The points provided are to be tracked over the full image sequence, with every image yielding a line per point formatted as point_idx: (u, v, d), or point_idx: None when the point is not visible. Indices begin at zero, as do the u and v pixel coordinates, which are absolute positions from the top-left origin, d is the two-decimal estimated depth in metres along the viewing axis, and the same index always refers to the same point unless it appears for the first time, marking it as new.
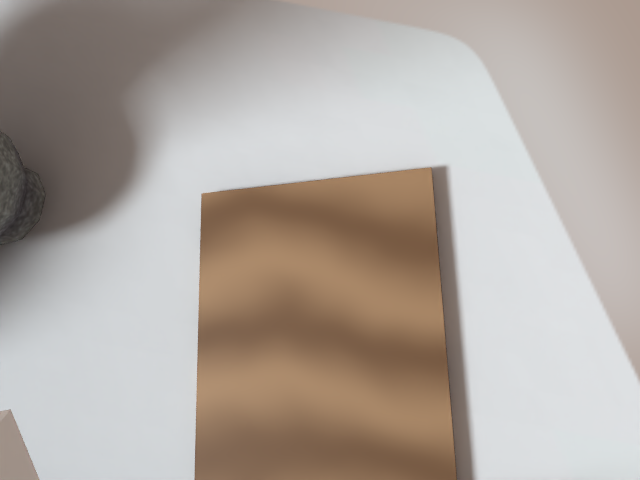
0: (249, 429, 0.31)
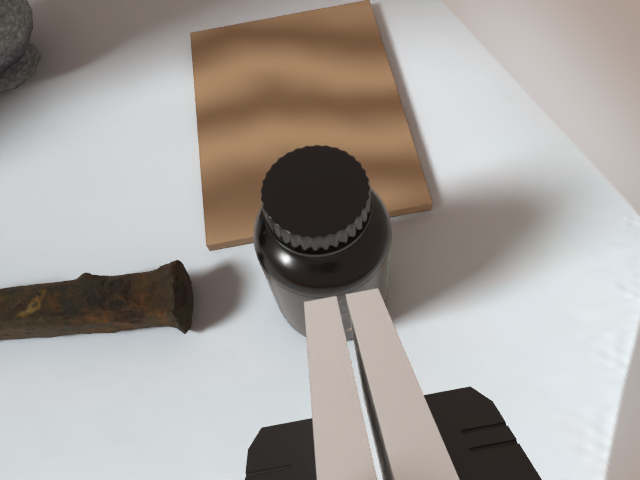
0: (249, 171, 0.37)
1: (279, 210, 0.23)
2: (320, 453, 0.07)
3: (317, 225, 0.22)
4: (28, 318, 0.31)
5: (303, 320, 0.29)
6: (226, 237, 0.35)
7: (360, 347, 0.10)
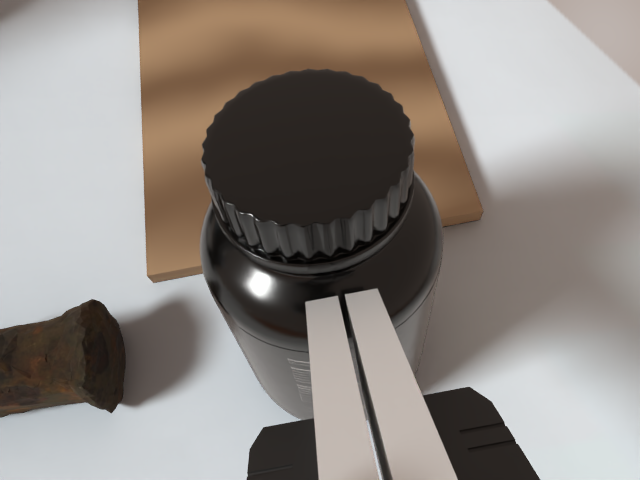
0: None
1: (236, 177, 0.11)
2: (321, 453, 0.07)
3: (311, 202, 0.11)
4: None
5: (290, 393, 0.17)
6: (177, 263, 0.24)
7: (359, 347, 0.10)
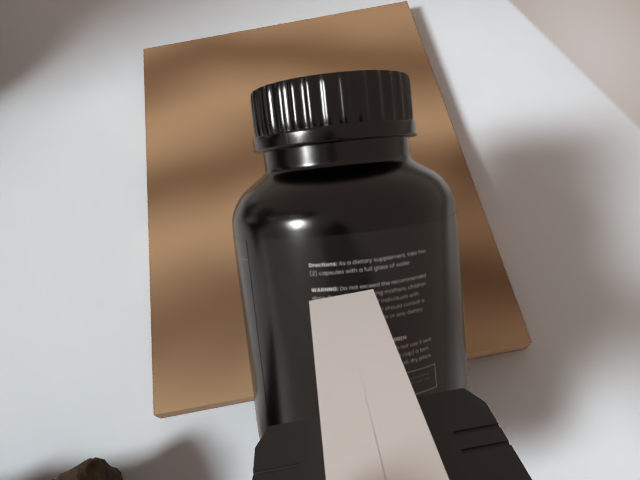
0: (228, 278, 0.23)
1: None
2: (328, 452, 0.07)
3: None
4: None
5: (309, 388, 0.14)
6: (187, 400, 0.21)
7: (354, 348, 0.10)
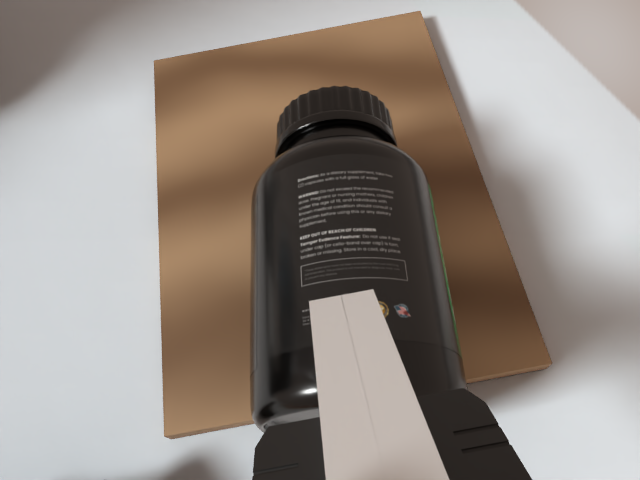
0: (239, 295, 0.23)
1: None
2: (328, 452, 0.07)
3: None
4: None
5: (291, 276, 0.16)
6: (198, 421, 0.21)
7: (354, 348, 0.10)
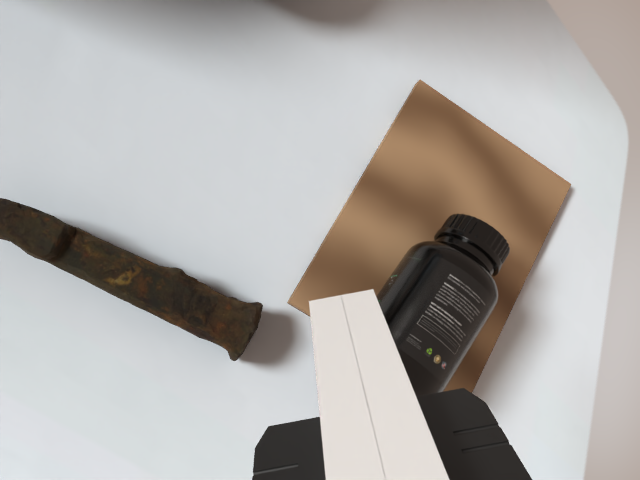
0: (365, 265, 0.39)
1: None
2: (328, 452, 0.07)
3: None
4: (114, 287, 0.32)
5: (415, 315, 0.32)
6: (307, 308, 0.37)
7: (354, 348, 0.10)
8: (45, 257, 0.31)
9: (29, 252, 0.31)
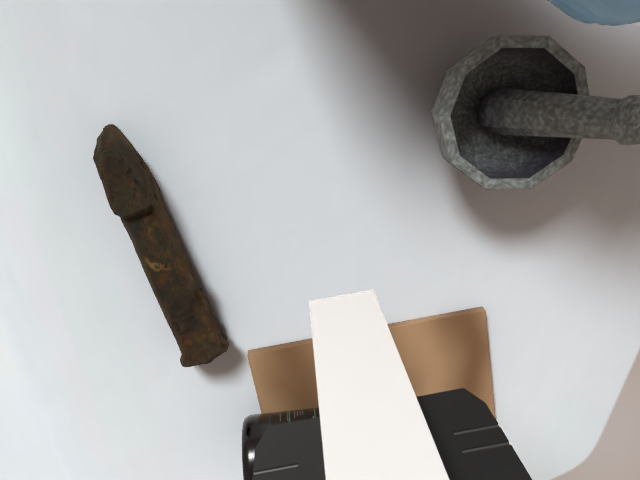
0: (315, 379, 0.45)
1: None
2: (328, 452, 0.07)
3: None
4: (145, 265, 0.39)
5: None
6: (254, 368, 0.45)
7: (354, 348, 0.10)
8: (118, 215, 0.37)
9: (110, 205, 0.37)
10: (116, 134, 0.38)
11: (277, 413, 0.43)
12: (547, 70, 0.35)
